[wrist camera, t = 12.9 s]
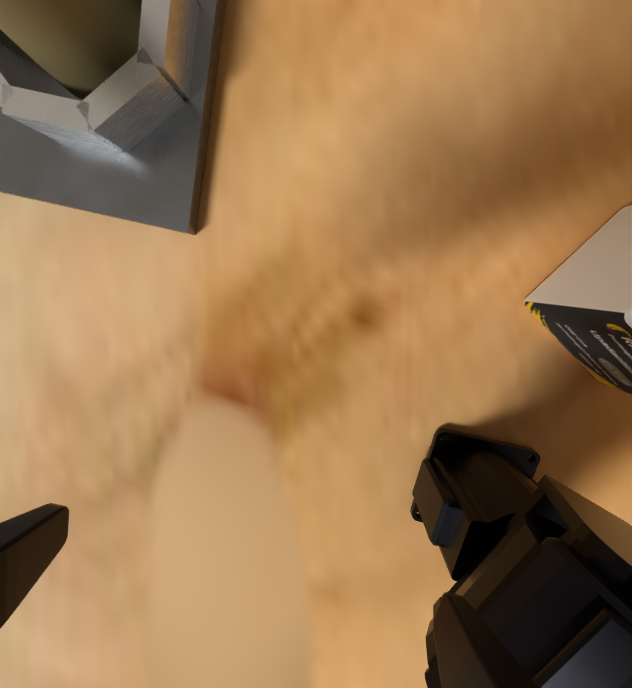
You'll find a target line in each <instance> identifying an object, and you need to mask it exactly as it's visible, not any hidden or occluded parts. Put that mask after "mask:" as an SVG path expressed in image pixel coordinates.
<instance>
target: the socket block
mask: <svg viewBox="0 0 632 688" xmlns="http://www.w3.org/2000/svg"><path fill="white" fill-rule="evenodd" d="M225 3H226V0H142V6H141V18H140V30H139V42H138V53H137V54H135V55H134V56H133V57H132V58H131V59H130V60H128V61H127V62H126V63H125V64H124V65H123V66H122V67H120V68H119V69H118V70H117V71H116V72H115V73H114V74H112V75H111V76H110V77H109V78H108V79H107V80H105V81H104V82H103V83H102V84H101V85H100V86H99V87H97V88H96V89H95V90H94V91H93V92H92V93H91V94H89V95H88V96H87V97H86V98H85V99H84V100H83V99H81V98H78V97H76V96H74V95H73V94H72V93H70V92H69V91H68V90H67V89H65V88H64V87H63V86H62V85H60V84H59V83H58V82H57V81H56V80H55V79H54V78H53V77H51V76H50V75H49V74H48V73H47V72H46V71H45V70H44V69H43V68H42V67H41V66H40V65H38V64H37V63H36V62H35V61H34V60H33V59H32V58H31V57H30V56H29V55H28V54H27V53H25V52H24V51H23V50H22V49H21V48H20V47H19V46H18V45H17V44H16V43H15V42H13V41H12V40H11V39H10V38H9V37H8V36H7V35H6V34H5V33H4V32H3V31H2V30H0V192H2V193H6V194H11V195H15V196H20V197H25V198H29V199H34V200H38V201H43V202H47V203H52V204H56V205H61V206H65V207H70V208H74V209H79V210H83V211H88V212H92V213H97V214H102V215H106V216H111V217H115V218H120V219H124V220H129V221H133V222H138V223H142V224H147V225H151V226H156V227H160V228H165V229H169V230H174V231H179V232H183V233H188V234H192V235H195V233H196V225H197V218H198V210H199V202H200V195H201V187H202V179H203V172H204V164H205V157H206V149H207V141H208V134H209V126H210V118H211V111H212V103H213V95H214V88H215V80H216V72H217V65H218V57H219V49H220V42H221V34H222V26H223V19H224V11H225Z"/></svg>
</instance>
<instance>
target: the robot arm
mask: <svg viewBox="0 0 632 688" xmlns="http://www.w3.org/2000/svg"><path fill="white" fill-rule="evenodd" d="M442 436H446V438H445V439H444V440H440V438H441V437H442ZM530 455H532V457H531V458H530V459H527V458H528V457H529V456H530ZM539 461H540V456H539V454H538V453H537V452H536V451H535V450H533V449H531V448H527V447H523V446H518V445H514V444H509V443H505V442H500V441H496V440H491V439H487V438H482V437H478V436H473V435H469V434H464V433H460V432H455V431H451V430H447V429H440V430H438V431H436V433H435V434H434V437H433V440H432V444H431V447H430V450H429V453H428V456H427V458H425V459H424V460H423V461H422V464H421V467H420V470H419V473H418V477H417V480H416V483H415V486H414V489H413V496H414V500H413V503H412V506H411V514H412V517H413V519H414V520H416V521H419V522H423V523H424V526H425V529H426V531H427V534H428V537H429V539H430V541H431V542H432V544H433V545H435V546H439V548H440V550H441V553H442V555H443V558H444V560H445V563H446V565H447V568H448V570H449V573H450V575H451V578H452V579H453V580H455V581H457V582H456V583H455V585H454V586H453V587H452V588H451V589H450V590H449V591H448V592H445V593H444V594H443V595H442V597H440V598H439V599H438V600H437V601H436V603H435V604H434V606H433V619H432V620H431V621H430V623H429V627H428V631H427V635H426V648H427V659H428V665H429V668H428V669H427V670H426V671H425V680H426V684H427V687H428V688H632V526H631V525H629V524H628V523H627V522H625V521H623V520H622V519H620V518H618V517H617V516H615V515H613V514H612V513H610V512H608V511H607V510H605V509H603V508H601V507H600V506H598V505H596V504H595V503H593V502H591V501H590V500H588V499H586V498H585V497H583V496H581V495H580V494H578V493H576V492H575V491H573V490H571V489H569V488H568V487H566V486H564V485H563V484H561V483H559V482H558V481H556V480H554V479H553V478H551V477H549V476H547V475H545V476H544V477H543V478H542V479H541V480H540V482H539V483H538V484H537V483H536V482H535V481H534V480H533V479H532V478H533V476H534V473H535V471H536V468H537V466H538V463H539ZM418 511H419V512H420V513H419V514H417V512H418ZM68 522H69V509H68V507H66V506H62V505H58V504H53V503H50V504H46V505H43V506H41V507H38V508H36V509H33V510H31V511H28V512H26V513H24V514H21V515H19V516H16V517H14V518H11V519H9V520H6V521H4V522H1V523H0V628H1V627H2V626H3V625H4V624H5V622H6V621H7V620H8V619H9V617H10V616H11V615H12V614H13V612H14V611H15V610H16V608H17V607H18V606H19V604H20V603H21V602H22V600H23V599H24V598H25V596H26V595H27V594H28V592H29V591H30V590H31V588H32V587H33V586H34V584H35V583H36V582H37V580H38V579H39V578H40V576H41V575H42V574H43V572H44V571H45V570H46V568H47V567H48V566H49V564H50V563H51V562H52V560H53V559H54V558H55V556H56V555H57V554H58V552H59V551H60V550H61V548H62V547H63V545H64V544H65V542H66V539H67V536H68Z"/></svg>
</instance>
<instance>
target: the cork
mask: <svg viewBox="0 0 632 688" xmlns="http://www.w3.org/2000/svg"><path fill="white" fill-rule="evenodd" d="M141 6H142V0H0V30H2V31H3V32H4V33H5V34H6V35H7V36H8V37H9V38H10V39H11V40H12V41H13V42H15V43H16V44H17V45H18V46H19V47H20V48H21V49H22V50H23V51H24V52H25V53H27V54H28V55H29V56H30V57H31V58H32V59H33V60H34V61H35V62H36V63H37V64H38V65H40V66H41V67H42V68H43V69H44V70H45V71H46V72H47V73H48V74H49V75H50V76H51V77H53V78H54V79H55V80H56V81H57V82H58V83H59V84H60V85H62V86H63V87H64V88H65V89H67V90H68V91H69V92H70V93H72V94H73V95H74V96H76V97H78V98H81V99H83V100H84V99H85V98H86V97H87V96H88V95H89V94H91V93H92V92H93V91H94V90H95V89H96V88H97V87H99V86H100V85H101V84H102V83H103V82H104V81H105V80H107V79H108V78H109V77H110V76H111V75H112V74H114V73H115V72H116V71H117V70H118V69H119V68H120V67H122V66H123V65H124V64H125V63H126V62H127V61H128V60H130V59H131V58H132V57H133V56H134V55H135V54H137V53H138V42H139V30H140V18H141Z"/></svg>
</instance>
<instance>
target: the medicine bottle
mask: <svg viewBox="0 0 632 688" xmlns="http://www.w3.org/2000/svg"><path fill="white" fill-rule="evenodd" d="M523 304H524V306H525V307H526V308H527V309H528V310H529V311H530V312H531V313H532V314H533V316H534V317H535V318H536V319H537V320H538V321H539V322H540V323H541V324H542V325H543V326H544V327H545V328H546V329H547V330H548V331H549V332H550V333H551V334H552V335H553V336H554V337H555V338H556V339H557V340H558V341H559V342H560V343H561V344H562V345H563V346H564V347H565V348H566V349H567V350H568V351H569V352H570V353H571V354H572V355H573V356H574V357H575V358H576V359H577V360H578V361H579V362H580V363H581V364H582V365H583V366H584V367H585V368H586V369H587V370H588V371H589V372H590V373H591V374H592V375H593V376H594V377H595V378H596V379H597V380H598V381H599V382H601V383H603V384H606V385H608V386H611V387H614V388H616V389H619V390H621V391H624V392H626V393H629V394H632V205H630V206H626V207H624V208H622V209H621V210H619V211H618V212H617V213H616V214H615V215H614V216H613V217H612V218H611V219H610V220H609V221H607V222H606V223H605V224H604V225H603V226H602V227H601V228H600V229H599V230H598V231H597V232H596V233H595V234H594V235H593V236H591V237H590V238H589V239H588V240H587V241H586V242H585V243H584V244H583V245H582V246H581V247H580V248H579V249H578V250H576V251H575V252H574V253H573V254H572V255H571V256H570V257H569V258H568V259H567V260H566V261H565V262H564V263H563V264H562V265H560V266H559V267H558V268H557V269H556V270H555V271H554V272H553V273H552V274H551V275H550V276H549V277H548V278H547V279H545V280H544V281H543V282H542V283H541V284H540V285H539V286H538V287H537V288H536V289H535V290H534V291H533V292H532V293H530V294H529V295H528V296H527V297H526V298H525V300H524V301H523Z"/></svg>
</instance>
